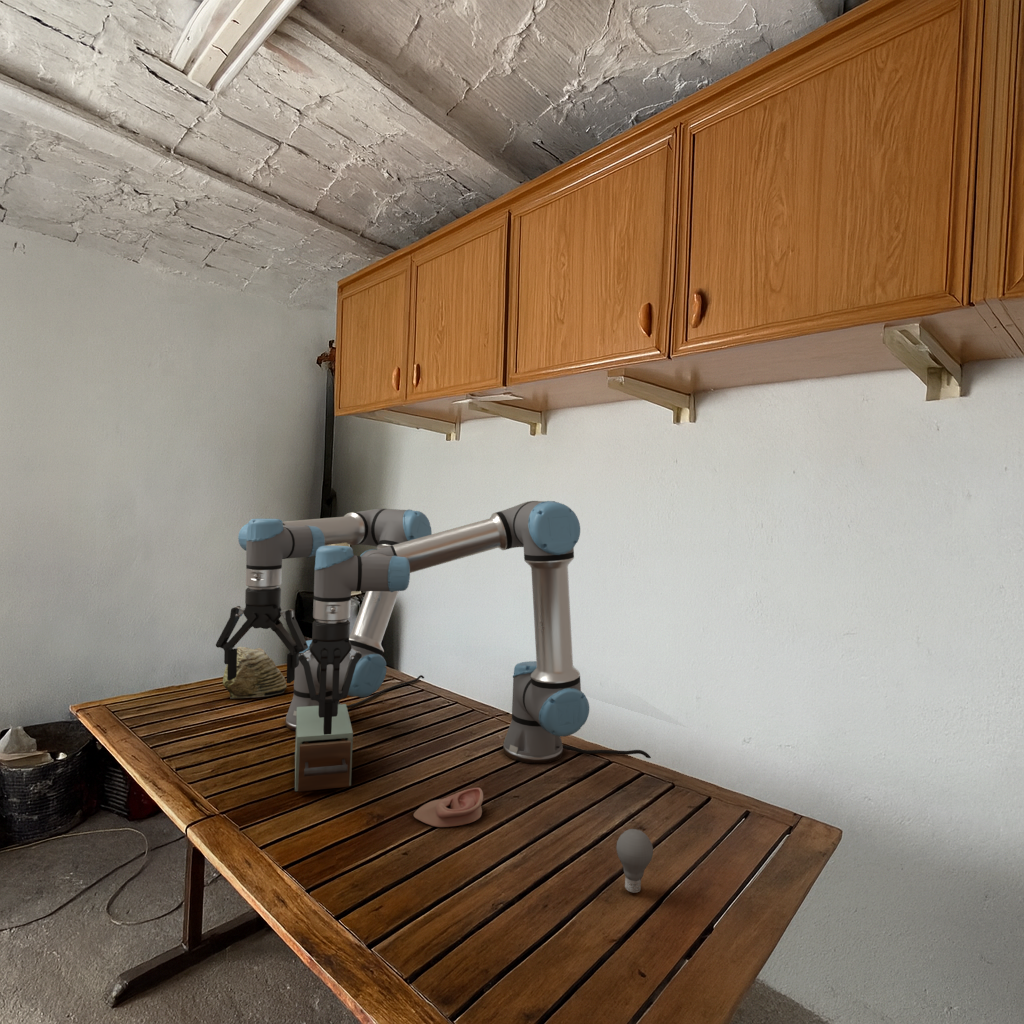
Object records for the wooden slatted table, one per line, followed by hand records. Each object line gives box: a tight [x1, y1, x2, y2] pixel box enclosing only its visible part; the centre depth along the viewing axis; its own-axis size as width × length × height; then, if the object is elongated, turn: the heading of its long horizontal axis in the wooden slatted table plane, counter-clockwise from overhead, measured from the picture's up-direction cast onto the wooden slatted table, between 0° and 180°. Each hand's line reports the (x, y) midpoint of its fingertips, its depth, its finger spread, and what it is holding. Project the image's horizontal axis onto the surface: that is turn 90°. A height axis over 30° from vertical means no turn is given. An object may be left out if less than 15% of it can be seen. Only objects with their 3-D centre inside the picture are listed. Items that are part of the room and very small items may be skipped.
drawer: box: [297, 738, 351, 793], centre depth 141 cm, size 24×10×10 cm, turn 19°
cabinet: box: [294, 703, 354, 792], centre depth 147 cm, size 20×12×12 cm, turn 19°
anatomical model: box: [413, 787, 484, 828], centre depth 129 cm, size 13×4×12 cm
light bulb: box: [615, 828, 654, 894], centre depth 106 cm, size 6×6×10 cm
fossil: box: [222, 646, 288, 699], centre depth 198 cm, size 9×18×15 cm, turn 132°
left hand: (261, 680), depth 144 cm, fingers open, 13 cm apart
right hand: (327, 731), depth 133 cm, fingers closed
